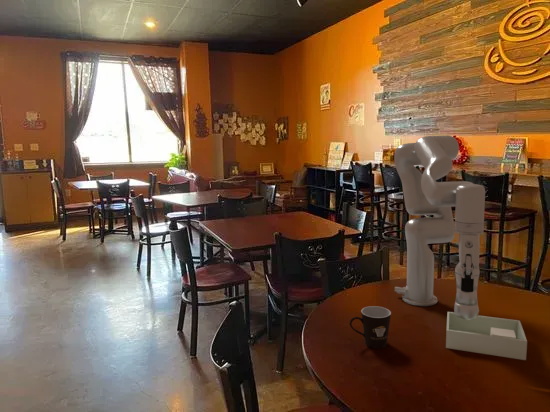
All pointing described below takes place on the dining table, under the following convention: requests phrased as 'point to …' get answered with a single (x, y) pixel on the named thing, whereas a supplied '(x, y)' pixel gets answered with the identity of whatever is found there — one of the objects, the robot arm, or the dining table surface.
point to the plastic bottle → (466, 296)
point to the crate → (485, 336)
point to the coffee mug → (374, 326)
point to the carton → (502, 333)
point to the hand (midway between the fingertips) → (466, 287)
